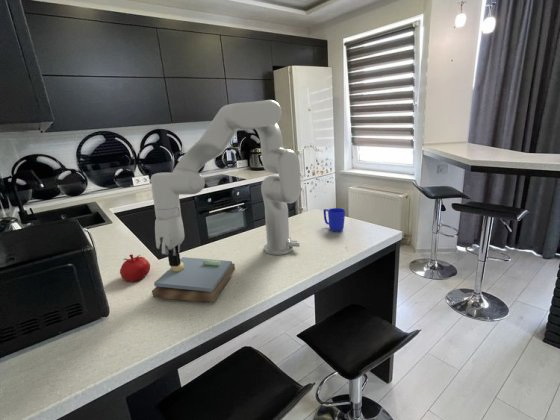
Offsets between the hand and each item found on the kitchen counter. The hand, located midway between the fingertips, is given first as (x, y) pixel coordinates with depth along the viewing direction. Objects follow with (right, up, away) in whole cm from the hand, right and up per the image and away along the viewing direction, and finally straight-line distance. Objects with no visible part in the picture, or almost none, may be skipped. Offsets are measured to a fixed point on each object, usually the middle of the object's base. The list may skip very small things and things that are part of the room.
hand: (175, 264), depth 97 cm
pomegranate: (-18, -7, +10) cm, 22 cm away
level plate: (+7, -3, 0) cm, 8 cm away
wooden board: (+7, -8, +2) cm, 11 cm away
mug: (+62, +9, +48) cm, 79 cm away
